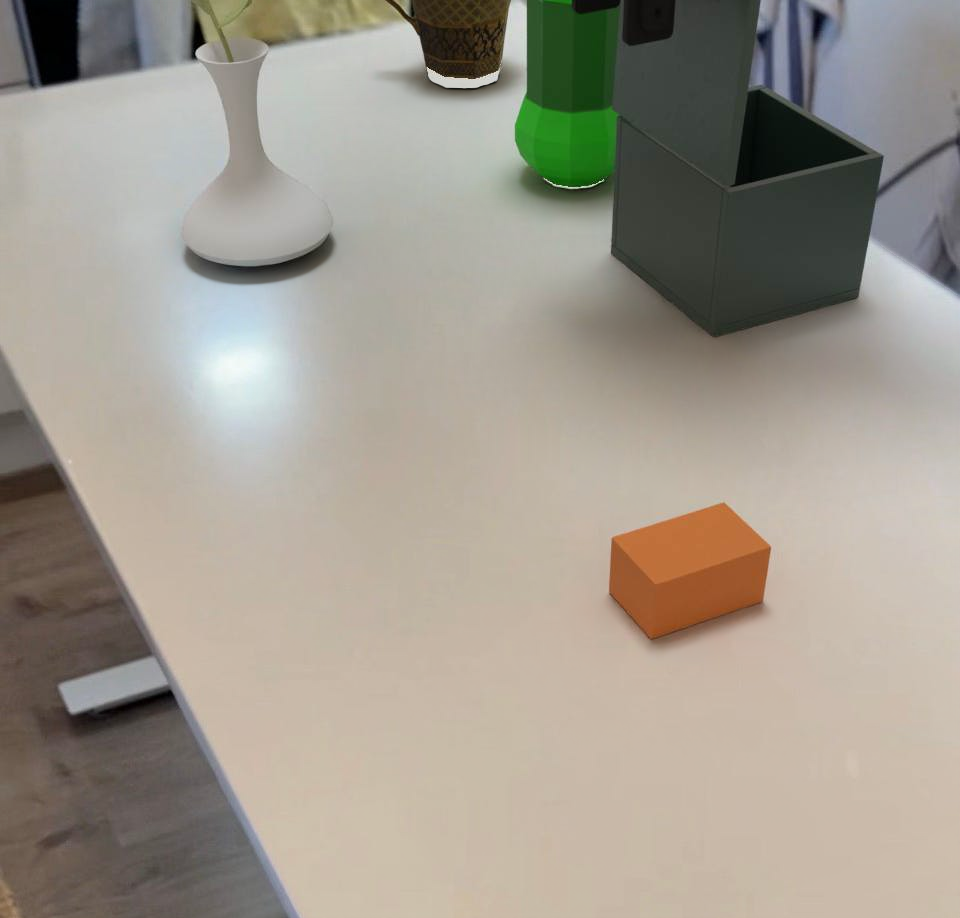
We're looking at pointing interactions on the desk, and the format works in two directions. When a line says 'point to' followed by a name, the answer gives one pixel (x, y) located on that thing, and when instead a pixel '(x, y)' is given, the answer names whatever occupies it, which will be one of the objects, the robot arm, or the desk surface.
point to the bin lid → (692, 82)
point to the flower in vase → (249, 173)
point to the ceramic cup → (460, 35)
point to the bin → (748, 218)
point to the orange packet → (688, 569)
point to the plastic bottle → (569, 93)
